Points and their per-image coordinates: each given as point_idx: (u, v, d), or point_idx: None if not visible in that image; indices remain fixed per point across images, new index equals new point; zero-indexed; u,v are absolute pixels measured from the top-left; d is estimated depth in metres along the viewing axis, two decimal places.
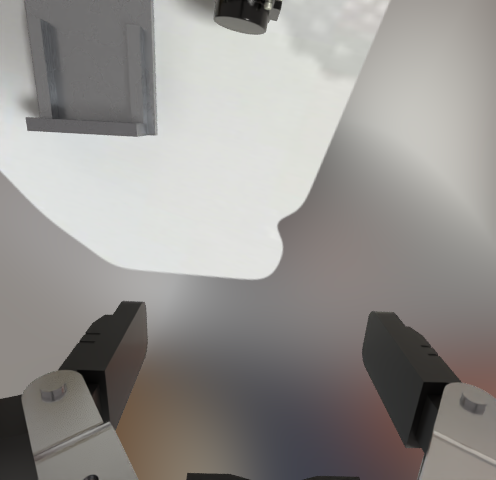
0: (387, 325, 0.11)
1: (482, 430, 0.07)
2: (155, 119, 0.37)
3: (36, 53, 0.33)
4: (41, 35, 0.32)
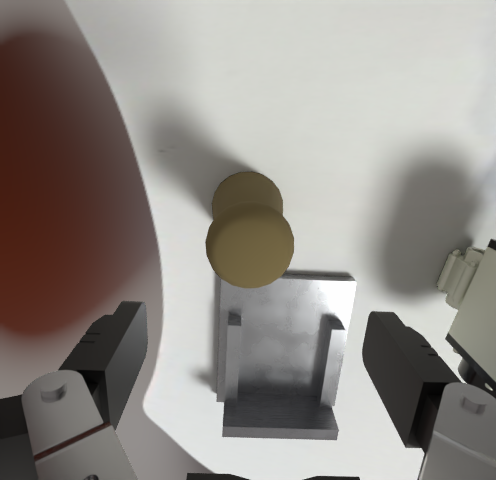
0: (387, 325, 0.11)
1: (482, 430, 0.07)
2: (336, 391, 0.35)
3: (231, 353, 0.31)
4: (240, 339, 0.30)
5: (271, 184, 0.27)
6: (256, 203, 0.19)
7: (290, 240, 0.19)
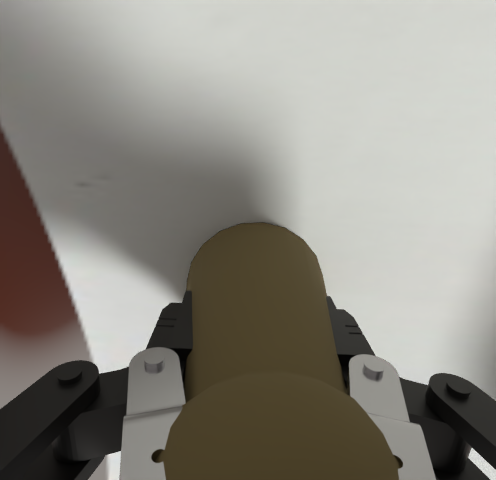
0: None
1: (372, 392, 0.08)
2: None
3: None
4: None
5: (304, 251, 0.13)
6: (299, 416, 0.05)
7: None
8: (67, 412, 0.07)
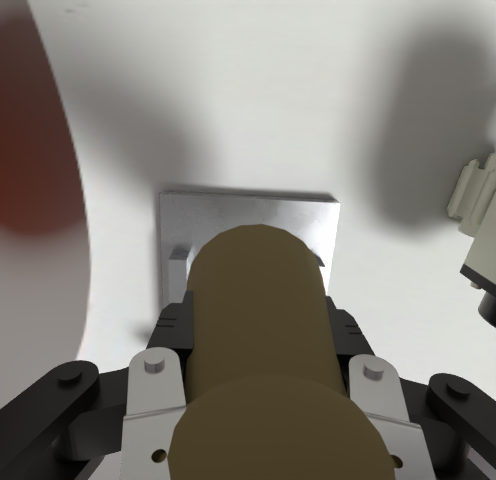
0: None
1: (371, 392, 0.08)
2: None
3: (175, 299, 0.23)
4: (185, 279, 0.23)
5: (304, 252, 0.13)
6: (299, 419, 0.05)
7: None
8: (67, 412, 0.07)
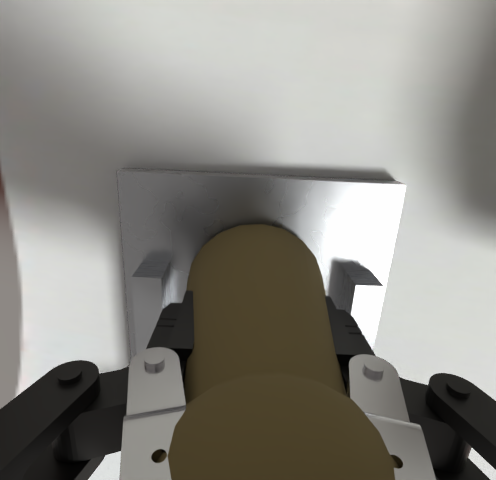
0: None
1: (372, 392, 0.08)
2: None
3: (146, 339, 0.15)
4: (161, 308, 0.14)
5: (303, 252, 0.13)
6: (298, 418, 0.06)
7: None
8: (67, 412, 0.07)
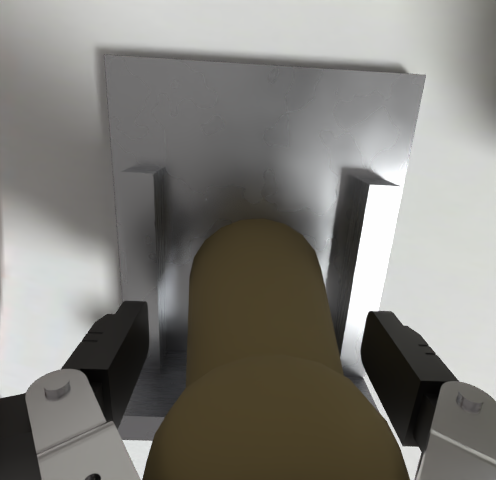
0: (385, 324, 0.11)
1: (478, 428, 0.07)
2: None
3: (137, 248, 0.13)
4: (153, 210, 0.13)
5: (303, 246, 0.14)
6: (297, 391, 0.06)
7: None
8: None
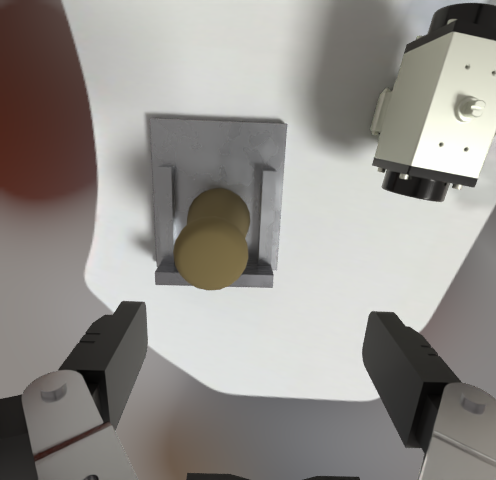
0: (387, 325, 0.11)
1: (482, 430, 0.07)
2: (277, 254, 0.34)
3: (163, 200, 0.31)
4: (170, 183, 0.30)
5: (237, 199, 0.31)
6: (214, 218, 0.23)
7: (243, 248, 0.23)
8: None
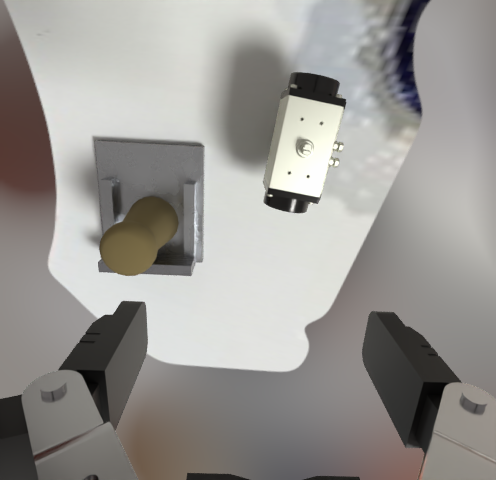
0: (387, 325, 0.11)
1: (482, 430, 0.07)
2: (202, 249, 0.42)
3: (106, 206, 0.39)
4: (111, 192, 0.38)
5: (165, 205, 0.39)
6: (129, 223, 0.31)
7: (149, 245, 0.31)
8: None
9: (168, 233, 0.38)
